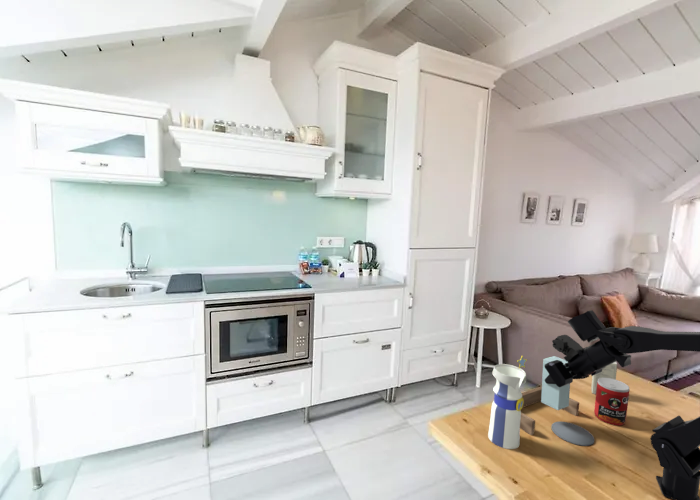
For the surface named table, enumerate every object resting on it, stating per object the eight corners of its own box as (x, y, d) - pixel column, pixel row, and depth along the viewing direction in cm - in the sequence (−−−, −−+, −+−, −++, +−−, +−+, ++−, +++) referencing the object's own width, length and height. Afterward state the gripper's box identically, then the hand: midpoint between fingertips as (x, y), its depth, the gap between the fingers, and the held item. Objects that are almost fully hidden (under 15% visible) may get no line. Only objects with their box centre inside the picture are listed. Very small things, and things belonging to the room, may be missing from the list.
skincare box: (612, 393, 118) (616, 359, 116) (614, 399, 114) (618, 364, 113) (590, 388, 121) (593, 355, 120) (591, 393, 117) (594, 359, 116)
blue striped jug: (527, 440, 91) (535, 350, 89) (513, 454, 86) (521, 358, 83) (496, 425, 97) (503, 340, 95) (481, 437, 92) (488, 348, 89)
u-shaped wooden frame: (578, 414, 104) (579, 402, 104) (531, 435, 94) (532, 421, 93) (542, 397, 114) (543, 385, 113) (496, 413, 103) (497, 401, 103)
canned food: (596, 421, 101) (600, 386, 100) (591, 408, 108) (595, 375, 107) (628, 429, 97) (633, 393, 96) (622, 415, 104) (626, 381, 103)
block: (568, 406, 98) (571, 362, 97) (558, 410, 96) (560, 365, 95) (551, 397, 102) (553, 355, 101) (541, 402, 100) (543, 359, 99)
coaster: (596, 450, 88) (596, 449, 88) (551, 437, 93) (551, 435, 93) (592, 430, 97) (592, 429, 97) (551, 418, 102) (551, 417, 102)
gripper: (593, 324, 98) (552, 349, 109) (554, 333, 89) (514, 359, 100) (623, 361, 92) (577, 383, 102) (584, 375, 83) (537, 397, 94)
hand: (551, 379), depth 100 cm, fingers closed on block, 5 cm apart
